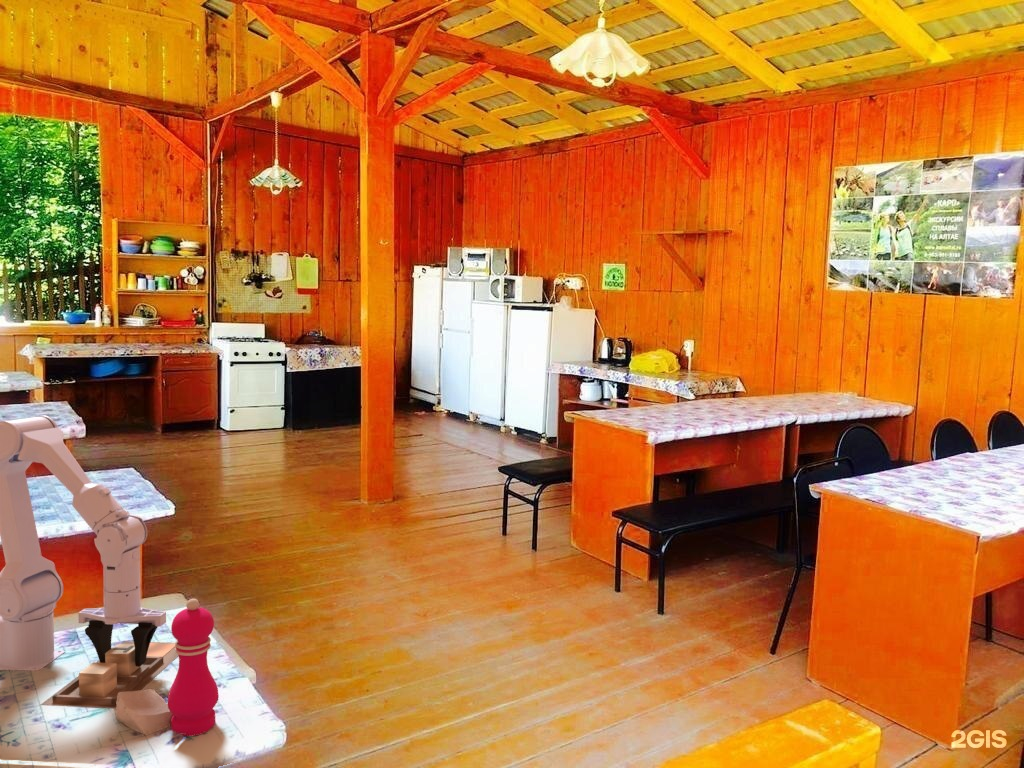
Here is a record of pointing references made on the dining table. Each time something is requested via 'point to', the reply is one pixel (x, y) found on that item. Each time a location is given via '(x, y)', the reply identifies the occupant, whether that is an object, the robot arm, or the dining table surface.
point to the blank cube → (98, 679)
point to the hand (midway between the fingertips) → (123, 663)
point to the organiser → (119, 680)
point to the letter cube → (122, 658)
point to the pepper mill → (193, 672)
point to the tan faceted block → (143, 711)
